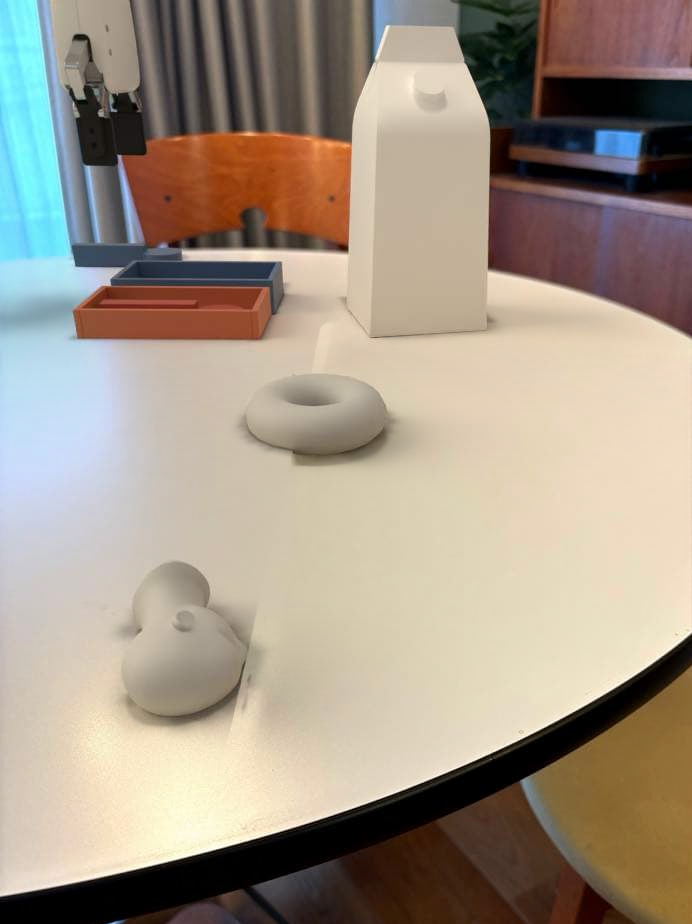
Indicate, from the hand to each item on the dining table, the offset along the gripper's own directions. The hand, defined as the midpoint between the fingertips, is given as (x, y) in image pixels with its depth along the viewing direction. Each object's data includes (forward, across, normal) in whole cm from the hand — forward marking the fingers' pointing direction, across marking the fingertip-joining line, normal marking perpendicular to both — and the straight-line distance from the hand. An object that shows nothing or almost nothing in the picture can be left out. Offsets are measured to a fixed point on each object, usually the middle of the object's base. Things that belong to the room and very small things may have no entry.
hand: (117, 160), depth 82 cm
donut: (+15, +34, +23) cm, 44 cm away
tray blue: (+14, -2, +7) cm, 16 cm away
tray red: (+14, +10, +7) cm, 19 cm away
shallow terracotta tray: (+14, +10, +7) cm, 18 cm away
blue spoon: (+14, -20, -7) cm, 26 cm away
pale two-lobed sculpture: (+15, +61, +20) cm, 66 cm away
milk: (+14, +3, +30) cm, 33 cm away
